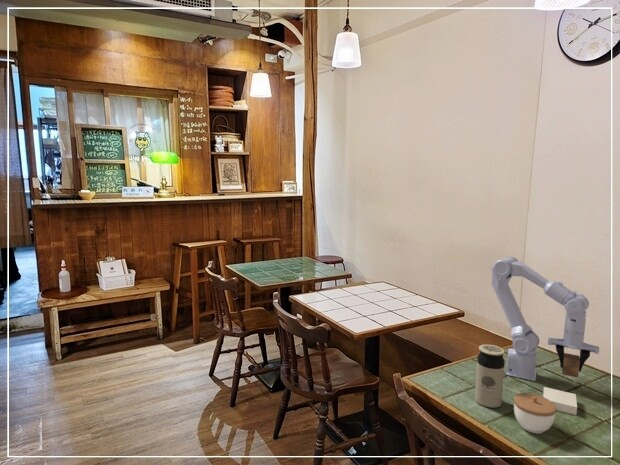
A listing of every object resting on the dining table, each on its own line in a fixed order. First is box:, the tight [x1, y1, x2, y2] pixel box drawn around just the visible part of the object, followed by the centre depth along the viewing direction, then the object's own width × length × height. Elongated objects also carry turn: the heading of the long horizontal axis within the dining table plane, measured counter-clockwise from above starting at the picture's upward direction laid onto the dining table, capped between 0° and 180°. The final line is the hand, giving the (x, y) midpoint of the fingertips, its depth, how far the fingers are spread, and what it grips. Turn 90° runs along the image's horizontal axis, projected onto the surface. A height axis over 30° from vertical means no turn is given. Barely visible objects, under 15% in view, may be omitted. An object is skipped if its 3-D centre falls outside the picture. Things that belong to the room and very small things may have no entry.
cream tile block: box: [542, 386, 578, 416], centre depth 130 cm, size 9×9×3 cm
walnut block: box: [561, 352, 580, 378], centre depth 139 cm, size 4×4×6 cm
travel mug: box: [474, 344, 506, 409], centre depth 130 cm, size 8×8×18 cm
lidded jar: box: [513, 392, 557, 435], centre depth 118 cm, size 11×11×9 cm
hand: (570, 368), depth 139 cm, fingers closed on walnut block, 4 cm apart
